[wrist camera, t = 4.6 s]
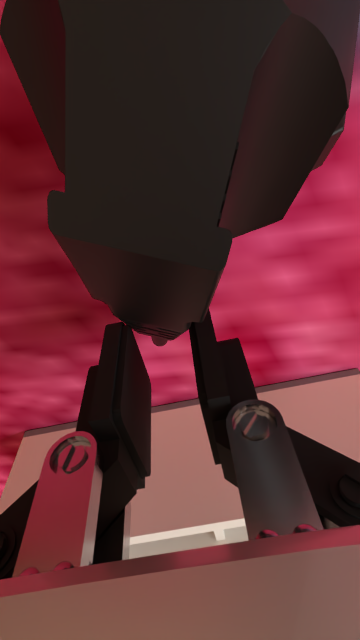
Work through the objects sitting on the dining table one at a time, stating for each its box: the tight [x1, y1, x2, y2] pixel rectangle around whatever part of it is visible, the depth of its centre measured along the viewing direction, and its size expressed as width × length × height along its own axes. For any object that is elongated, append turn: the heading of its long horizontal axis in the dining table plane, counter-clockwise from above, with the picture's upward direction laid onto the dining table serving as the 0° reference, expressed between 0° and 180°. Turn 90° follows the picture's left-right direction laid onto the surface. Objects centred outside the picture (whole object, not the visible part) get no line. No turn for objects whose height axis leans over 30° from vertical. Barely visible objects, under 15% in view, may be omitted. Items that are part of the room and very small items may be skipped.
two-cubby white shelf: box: [0, 368, 360, 559], centre depth 19 cm, size 12×18×6 cm, turn 101°
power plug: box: [0, 0, 360, 346], centre depth 10 cm, size 6×8×12 cm
